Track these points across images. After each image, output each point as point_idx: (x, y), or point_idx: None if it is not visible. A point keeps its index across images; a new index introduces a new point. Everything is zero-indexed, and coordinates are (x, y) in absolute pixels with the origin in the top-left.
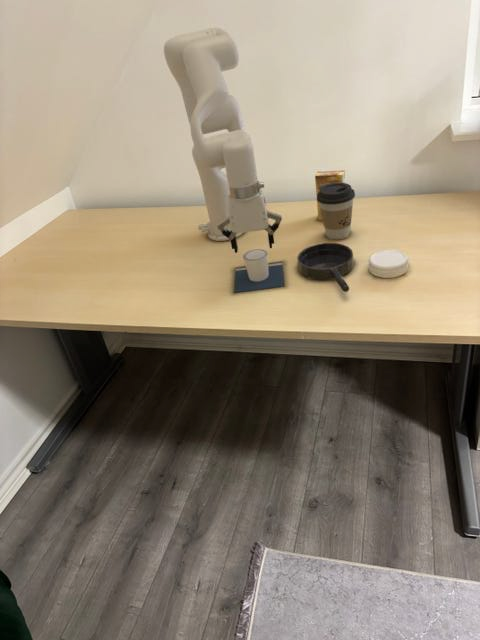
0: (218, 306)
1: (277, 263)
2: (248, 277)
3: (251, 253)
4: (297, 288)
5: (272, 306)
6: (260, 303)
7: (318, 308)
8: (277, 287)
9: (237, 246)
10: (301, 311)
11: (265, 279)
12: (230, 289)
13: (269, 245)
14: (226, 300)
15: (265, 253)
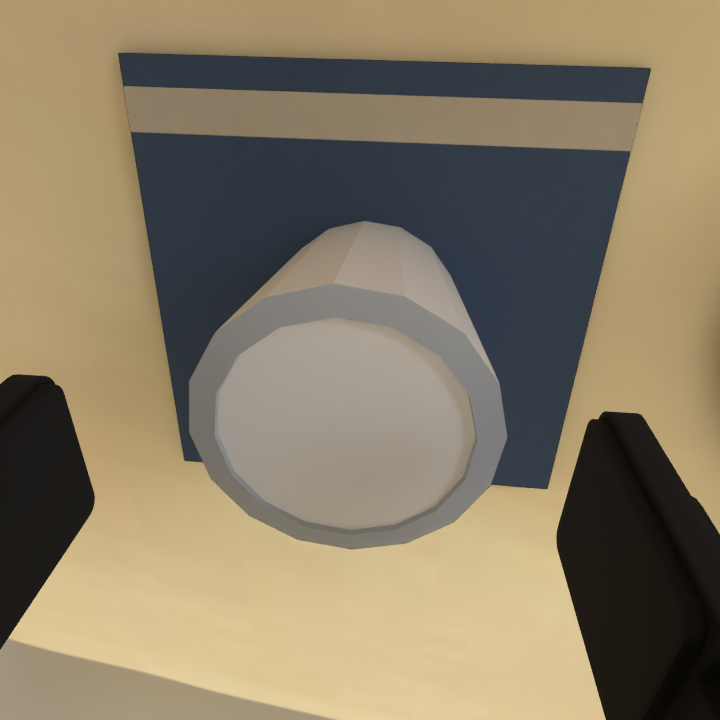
0: (116, 547)
1: (584, 109)
2: None
3: (291, 386)
4: None
5: (430, 625)
6: (364, 587)
7: None
8: (493, 479)
9: (48, 401)
10: (571, 690)
11: None
12: (151, 404)
13: (569, 581)
14: (151, 510)
15: (476, 455)
